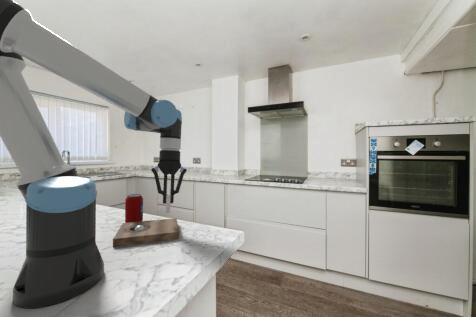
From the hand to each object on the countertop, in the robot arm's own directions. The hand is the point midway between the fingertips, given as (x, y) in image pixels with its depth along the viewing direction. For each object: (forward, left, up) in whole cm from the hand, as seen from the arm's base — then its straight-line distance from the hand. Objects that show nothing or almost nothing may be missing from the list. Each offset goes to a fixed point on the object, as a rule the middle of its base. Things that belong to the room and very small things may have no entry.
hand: (167, 212), depth 76 cm
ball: (0, +10, -6) cm, 11 cm away
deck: (0, +6, -8) cm, 10 cm away
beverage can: (+15, +13, -8) cm, 22 cm away
